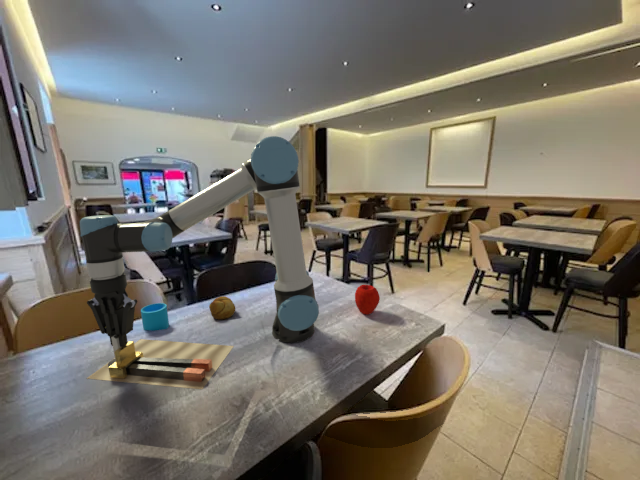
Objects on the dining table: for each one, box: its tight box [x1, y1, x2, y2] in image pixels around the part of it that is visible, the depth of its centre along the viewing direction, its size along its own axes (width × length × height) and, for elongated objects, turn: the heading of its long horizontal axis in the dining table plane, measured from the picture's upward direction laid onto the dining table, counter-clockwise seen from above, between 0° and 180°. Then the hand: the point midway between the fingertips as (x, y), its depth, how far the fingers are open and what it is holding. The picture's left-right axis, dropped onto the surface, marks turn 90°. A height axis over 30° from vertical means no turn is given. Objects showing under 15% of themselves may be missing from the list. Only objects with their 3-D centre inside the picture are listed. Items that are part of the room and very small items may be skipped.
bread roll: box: [208, 295, 236, 321], centre depth 112 cm, size 13×10×8 cm
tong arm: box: [131, 357, 212, 372], centre depth 77 cm, size 23×2×2 cm, turn 87°
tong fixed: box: [107, 358, 205, 382], centre depth 75 cm, size 28×4×2 cm, turn 83°
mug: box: [140, 302, 170, 332], centre depth 103 cm, size 12×8×8 cm
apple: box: [354, 284, 381, 316], centre depth 112 cm, size 10×10×12 cm
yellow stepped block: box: [109, 340, 143, 379], centre depth 76 cm, size 4×7×7 cm, turn 173°
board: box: [86, 338, 235, 390], centre depth 81 cm, size 33×19×2 cm, turn 83°
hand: (121, 355), depth 76 cm, fingers closed
